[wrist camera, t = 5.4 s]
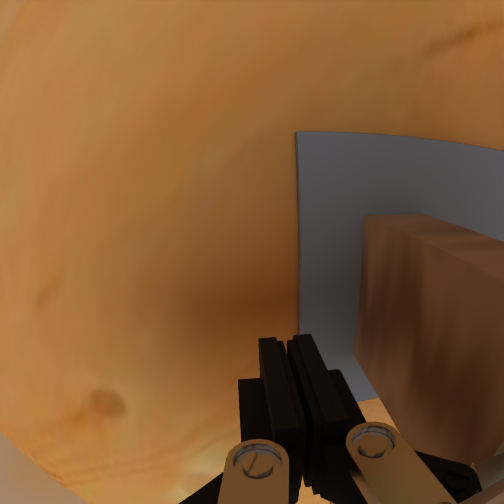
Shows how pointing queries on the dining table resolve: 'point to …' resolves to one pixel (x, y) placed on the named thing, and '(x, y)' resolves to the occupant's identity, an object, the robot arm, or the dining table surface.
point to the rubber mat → (376, 203)
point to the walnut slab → (434, 333)
